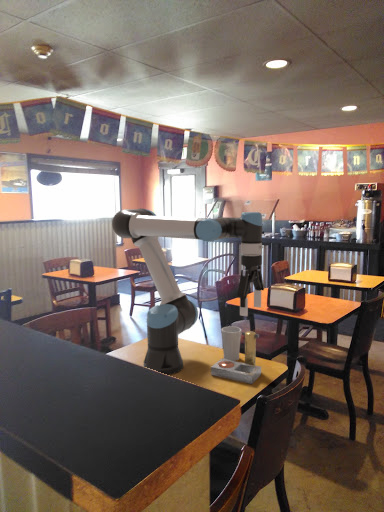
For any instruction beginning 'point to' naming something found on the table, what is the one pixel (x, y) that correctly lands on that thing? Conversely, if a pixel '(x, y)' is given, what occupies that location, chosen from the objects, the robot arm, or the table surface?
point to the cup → (231, 342)
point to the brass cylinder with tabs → (250, 347)
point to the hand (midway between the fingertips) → (250, 311)
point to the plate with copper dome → (236, 371)
